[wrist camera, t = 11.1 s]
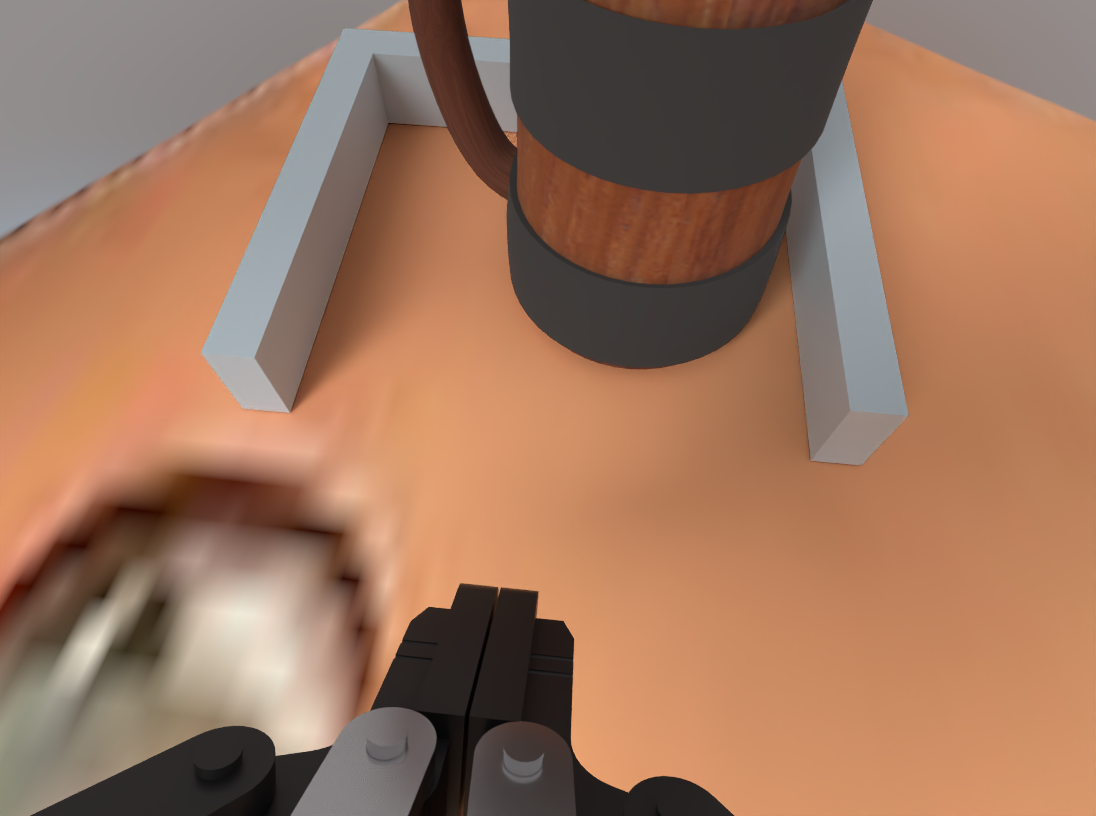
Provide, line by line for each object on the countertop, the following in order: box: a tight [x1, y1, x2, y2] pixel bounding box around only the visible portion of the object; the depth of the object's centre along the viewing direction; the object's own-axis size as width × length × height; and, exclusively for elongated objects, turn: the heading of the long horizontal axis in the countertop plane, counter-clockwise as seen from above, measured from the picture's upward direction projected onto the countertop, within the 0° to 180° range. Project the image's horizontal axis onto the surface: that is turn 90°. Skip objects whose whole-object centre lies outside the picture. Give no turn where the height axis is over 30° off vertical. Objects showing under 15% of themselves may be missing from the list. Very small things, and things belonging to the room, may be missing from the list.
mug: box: [408, 0, 873, 369], centre depth 19 cm, size 9×12×12 cm
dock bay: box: [201, 28, 909, 465], centre depth 23 cm, size 19×16×3 cm
